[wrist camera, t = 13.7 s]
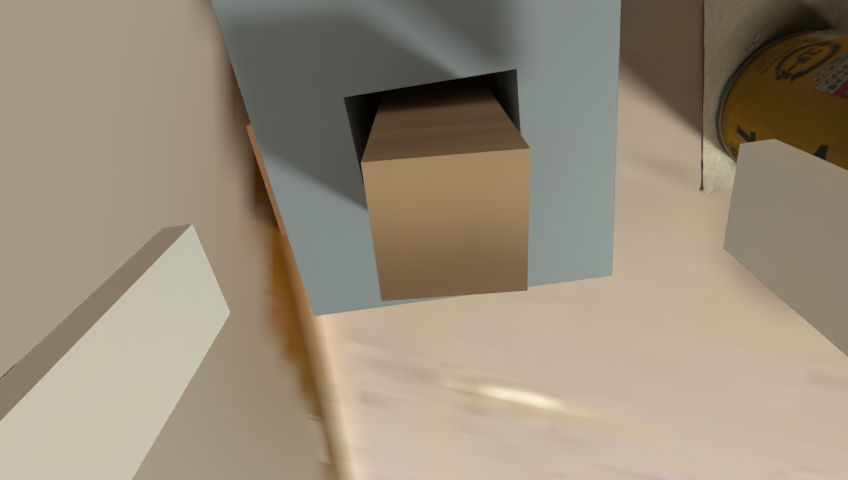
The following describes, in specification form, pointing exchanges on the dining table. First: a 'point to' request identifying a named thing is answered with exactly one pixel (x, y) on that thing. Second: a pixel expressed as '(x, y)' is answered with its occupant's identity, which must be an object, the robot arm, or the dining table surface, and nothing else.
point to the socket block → (415, 65)
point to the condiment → (774, 81)
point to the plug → (447, 192)
